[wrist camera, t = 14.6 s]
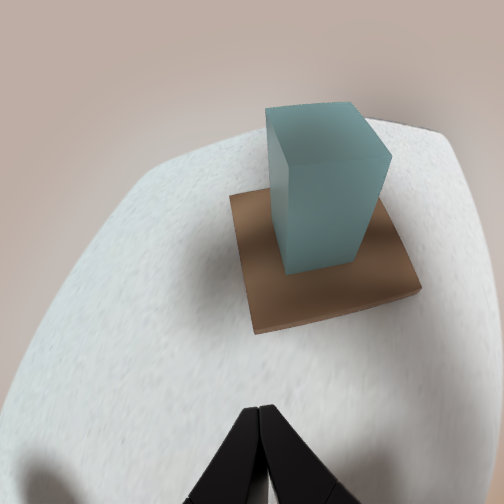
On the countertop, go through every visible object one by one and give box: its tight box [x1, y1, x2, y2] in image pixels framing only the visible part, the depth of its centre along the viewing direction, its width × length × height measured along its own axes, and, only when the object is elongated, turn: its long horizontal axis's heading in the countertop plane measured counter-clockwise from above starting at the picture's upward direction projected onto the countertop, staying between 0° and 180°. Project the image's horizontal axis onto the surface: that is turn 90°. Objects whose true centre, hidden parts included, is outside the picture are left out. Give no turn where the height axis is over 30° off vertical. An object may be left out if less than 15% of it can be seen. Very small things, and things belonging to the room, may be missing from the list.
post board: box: [229, 188, 422, 335], centre depth 23 cm, size 13×14×5 cm
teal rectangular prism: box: [265, 102, 392, 275], centre depth 19 cm, size 6×6×11 cm
